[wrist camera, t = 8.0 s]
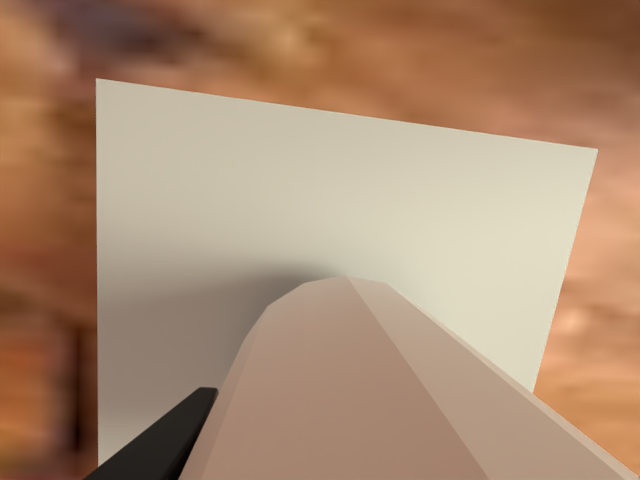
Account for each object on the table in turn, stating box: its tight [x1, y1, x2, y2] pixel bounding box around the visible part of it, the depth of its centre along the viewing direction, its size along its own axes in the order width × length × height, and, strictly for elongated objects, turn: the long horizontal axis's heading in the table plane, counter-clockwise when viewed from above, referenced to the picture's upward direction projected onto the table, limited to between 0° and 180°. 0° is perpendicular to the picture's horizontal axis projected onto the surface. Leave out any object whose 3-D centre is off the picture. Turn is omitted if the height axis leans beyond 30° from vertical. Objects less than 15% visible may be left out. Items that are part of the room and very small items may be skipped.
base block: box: [96, 78, 599, 467], centre depth 12 cm, size 14×14×3 cm
